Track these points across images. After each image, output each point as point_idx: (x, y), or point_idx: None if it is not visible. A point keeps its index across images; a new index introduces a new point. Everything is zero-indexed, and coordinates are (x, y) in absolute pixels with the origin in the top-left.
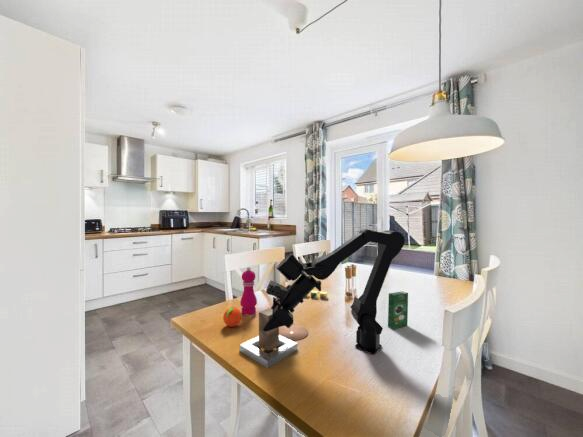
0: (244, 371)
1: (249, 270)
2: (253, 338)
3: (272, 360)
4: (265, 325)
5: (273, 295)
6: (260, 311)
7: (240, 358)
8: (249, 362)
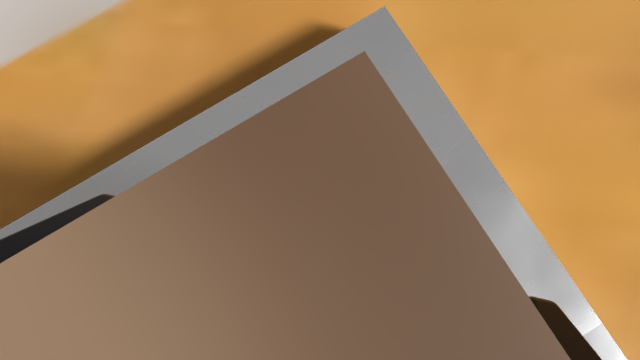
0: (53, 48)
1: None
2: (485, 166)
3: None
4: (47, 235)
5: None
6: (403, 119)
7: (253, 33)
8: (164, 102)
